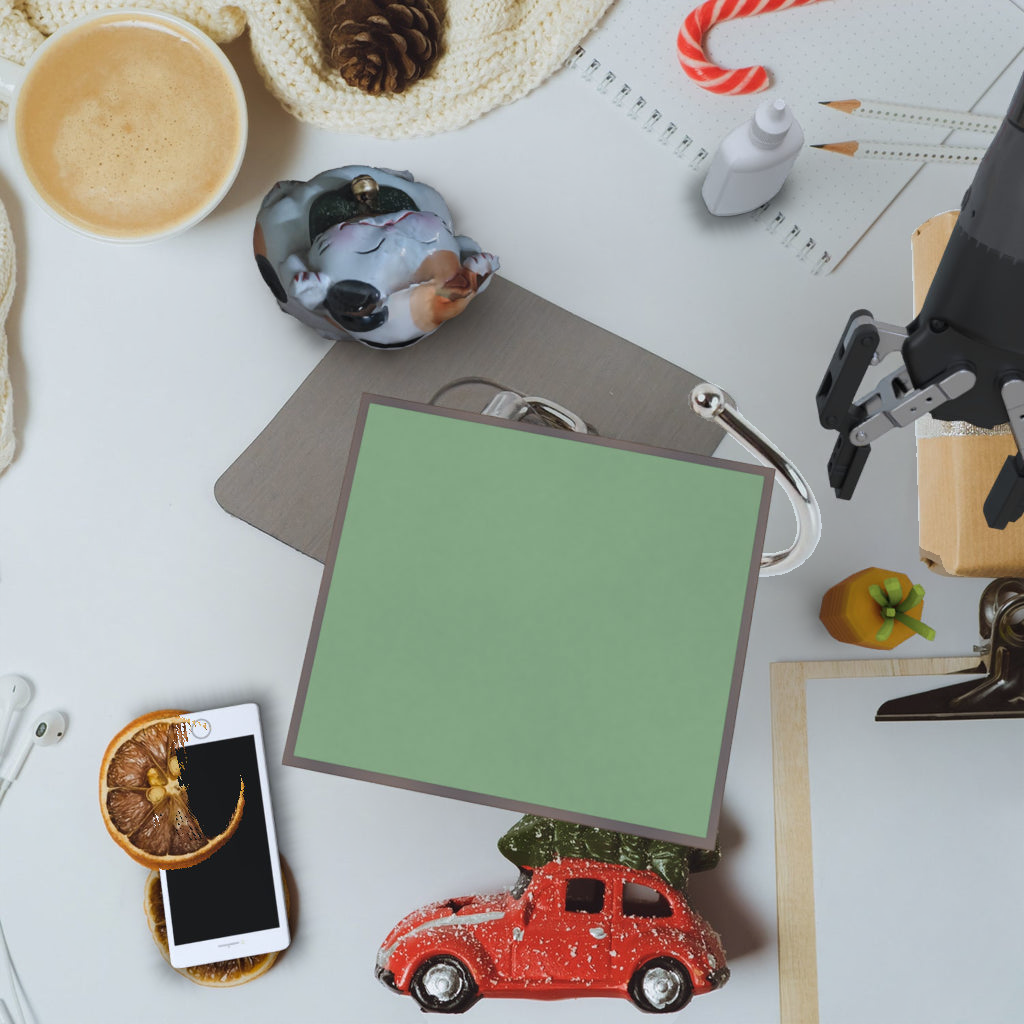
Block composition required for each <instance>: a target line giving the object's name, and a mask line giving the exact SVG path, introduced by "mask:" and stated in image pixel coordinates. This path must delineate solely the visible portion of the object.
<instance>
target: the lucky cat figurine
mask: <svg viewBox="0 0 1024 1024" xmlns="http://www.w3.org/2000/svg"><path fill="white" fill-rule="evenodd" d="M252 247H253V256H254V260H255V262H256V265H257V267H258V271H259V273H260V275H261V277H262V279H263V281H264V283H265V284H266V285H267V286H268V287H267V288H269V290H270V292H271V293H272V295H273V296H274V298H275V301H276V304H277V306H278V307H279V310H280V311H281V312H283V313H284V314H287V315H290V316H292V317H294V318H295V319H297V320H298V321H299V322H301V323H302V324H304V325H306V326H308V327H309V328H310V329H312V330H313V331H314V332H315V333H316V334H317V335H319V336H320V337H321V339H325V340H329V341H336V342H337V341H340V342H342V341H347V342H348V341H349V342H350V341H356V342H359V343H361V344H362V345H364V346H366V347H368V348H372V349H375V350H387V351H397V350H402V349H404V348H409V347H412V346H415V345H416V344H418V343H419V342H420V341H422V340H423V339H425V338H427V337H429V336H431V335H433V334H434V333H435V332H436V331H438V329H439V328H440V327H441V326H442V325H443V324H444V323H445V322H447V321H448V320H451V319H453V318H456V317H457V316H458V315H461V314H462V313H463V312H464V311H465V310H466V309H467V306H468V305H469V303H470V302H471V301H472V300H473V299H474V298H475V297H477V295H478V294H481V293H482V292H485V290H486V289H487V288H488V286H489V285H490V283H491V280H492V277H493V276H494V274H495V273H496V272H497V271H498V270H499V269H500V268H501V264H500V261H499V260H500V256H498V255H497V254H496V255H493V254H491V253H489V252H483V250H482V248H481V246H480V244H479V243H478V242H477V241H476V240H474V239H473V238H472V237H471V236H467V235H462V234H460V235H456V233H455V228H454V222H453V220H452V216H451V213H450V211H449V208H448V205H447V204H446V200H445V199H444V197H443V195H442V194H441V193H440V192H439V191H438V190H436V189H435V188H434V187H432V186H431V185H428V184H426V183H423V182H421V181H415V176H414V175H413V173H412V172H410V171H409V169H406V170H405V169H404V170H396V169H392V168H389V167H377V166H374V167H373V166H370V165H361V164H349V165H343V166H341V167H335V168H330V169H327V170H323V171H322V172H320V173H318V174H316V175H315V176H313V177H312V178H311V179H308V180H307V181H303V180H297V179H296V180H295V179H291V180H290V179H286V180H280V181H279V180H278V181H276V182H275V184H273V186H272V188H271V189H270V190H269V191H268V193H267V194H265V196H264V197H263V200H262V202H261V204H260V208H259V210H258V212H257V213H256V218H255V222H254V228H253V232H252Z"/></svg>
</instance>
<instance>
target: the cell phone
mask: <svg viewBox="0 0 1024 1024" xmlns="http://www.w3.org/2000/svg"><path fill="white" fill-rule="evenodd" d="M260 712H261V711H260V706H259V705H258V704H257V703H254V702H249V703H247V702H246V703H242V704H236V705H232V706H231V705H230V706H225V707H219V708H213V709H208V710H202V711H197V712H196V711H195V712H190V713H185V714H180V715H179V716H180V718H182V717H183V718H185V720H186V719H187V720H188V719H190V725H191V727H190V725H189V724H188V723H187V722H186V723H185V725H186V731H187V737H188V742H187V741H186V739H185V738H184V736H183V735H182V737H183V738H184V740H185V742H184V740H183V742H184V747H185V749H184V748H183V746H182V745H181V743H180V742H179V740H178V742H179V747H180V749H179V748H178V750H179V751H178V750H177V749H176V747H175V751H176V756H177V760H178V764H179V763H180V764H181V765H184V768H185V770H184V769H183V768H182V766H181V765H180V764H179V768H180V767H181V769H180V772H181V775H180V776H181V779H182V780H181V779H180V777H179V776H178V778H177V779H178V782H179V786H180V787H181V786H183V784H184V786H185V787H186V788H187V790H186V792H187V795H188V800H189V801H188V800H187V801H188V803H189V804H188V803H187V804H188V806H189V807H190V808H189V807H188V806H187V805H186V806H187V807H188V809H189V810H190V809H191V810H192V811H191V810H190V812H191V813H192V814H193V815H194V816H195V817H196V818H195V817H194V816H193V815H192V814H191V813H190V812H189V810H188V812H189V814H190V815H191V816H193V817H194V818H195V819H197V821H198V823H199V826H200V828H201V830H202V832H203V834H204V836H206V837H208V836H210V838H212V837H214V836H218V835H219V834H221V833H222V832H223V831H225V830H226V828H227V827H228V826H229V821H231V817H232V813H233V814H234V812H235V807H236V808H237V803H238V800H239V798H240V797H239V796H240V791H242V790H241V782H242V781H243V783H244V786H245V787H244V789H243V790H244V792H243V794H244V795H243V794H242V795H243V797H244V800H245V805H244V807H243V815H242V817H241V819H242V820H241V821H240V822H239V824H238V825H239V826H238V828H237V829H236V831H235V833H234V834H233V835H232V837H231V838H230V839H228V840H229V841H227V842H226V843H225V845H223V846H221V848H220V849H218V850H217V852H215V853H213V854H212V855H211V856H210V858H207V859H206V860H204V861H201V863H198V864H197V865H193V866H192V867H189V868H188V867H187V868H182V869H181V868H180V869H174V870H171V869H169V870H166V869H165V870H162V869H160V868H159V874H160V875H159V876H160V882H161V883H160V885H161V890H162V901H163V907H164V917H165V926H166V932H167V942H168V949H169V957H170V963H171V964H170V965H171V966H172V967H173V968H175V969H184V968H189V967H190V968H191V967H195V966H203V965H208V964H212V963H217V962H224V961H229V960H235V959H241V958H246V957H247V958H248V957H252V956H257V955H264V954H270V953H274V952H279V951H283V950H286V949H287V948H289V946H290V944H291V942H292V939H291V933H290V926H289V919H288V911H287V905H286V897H285V890H284V883H283V875H282V869H281V868H282V867H281V861H280V860H281V859H280V853H279V846H278V838H277V831H276V824H275V823H276V822H275V816H274V810H273V802H272V794H271V788H270V780H269V772H268V766H267V757H266V751H265V743H264V736H263V728H262V720H261V714H260ZM183 718H182V719H183ZM194 720H195V725H196V727H195V725H194V724H193V722H192V721H194ZM197 721H198V722H200V724H201V726H200V725H199V723H198V722H197ZM204 723H206V729H207V730H206V729H205V728H204V727H203V725H205V724H204ZM182 726H184V724H183V723H181V731H182V734H184V732H183V731H184V728H183V727H182ZM209 726H210V727H209ZM176 727H177V725H176ZM177 728H178V727H177ZM210 728H211V729H210ZM178 729H179V728H178ZM189 729H190V730H191V731H192V732H191V731H190V730H189ZM176 730H177V729H176ZM189 733H190V734H189ZM177 734H179V733H178V731H177ZM177 736H178V735H177ZM178 739H179V736H178ZM173 741H174V740H173ZM174 743H175V742H174ZM175 744H176V743H175ZM170 748H171V747H170ZM184 750H185V752H186V754H185V753H184ZM171 754H172V752H171ZM185 757H187V759H186V758H185ZM186 761H187V763H186ZM181 762H183V764H182V763H181ZM240 775H241V776H240ZM241 778H242V781H241ZM188 784H189V785H188ZM187 786H188V787H187ZM181 788H182V787H181ZM186 788H185V789H186ZM188 788H189V789H188ZM182 795H183V794H182ZM178 812H179V811H178ZM179 814H180V812H179ZM155 815H156V814H155ZM160 816H162V815H161V814H160ZM176 816H177V815H176ZM191 816H190V817H191ZM152 817H153V816H152ZM180 817H181V816H180ZM185 817H186V816H185ZM156 818H157V820H158V818H159V817H158V816H157V815H156ZM186 818H187V817H186ZM191 818H192V817H191ZM154 819H155V818H154V817H153V825H155V824H154V822H155V821H154ZM181 819H182V817H181ZM192 819H193V818H192ZM229 819H230V820H229ZM162 820H163V819H162ZM176 820H178V819H177V818H176ZM193 820H194V819H193ZM158 822H159V820H158ZM182 822H183V821H182ZM187 822H188V821H187ZM192 822H193V821H192ZM159 825H160V824H159ZM178 825H180V824H179V823H178ZM203 825H204V826H203ZM226 825H227V826H226ZM155 826H156V825H155ZM155 826H154V827H155ZM189 827H190V826H189ZM195 828H196V827H195ZM175 829H176V828H175ZM180 829H181V828H180ZM190 829H191V830H193V829H192V828H191V827H190ZM196 830H198V829H197V828H196ZM176 831H178V830H177V829H176ZM198 831H199V830H198ZM192 833H193V832H192ZM197 833H198V832H197ZM200 833H201V832H200ZM177 834H178V833H177ZM182 834H183V833H182ZM187 834H188V833H187ZM178 835H179V834H178ZM188 835H189V834H188ZM193 835H194V836H196V835H195V834H194V833H193ZM198 835H199V837H200V839H202V838H201V835H200V834H199V833H198ZM207 835H208V836H207ZM206 837H205V838H206ZM189 838H190V837H189ZM194 838H195V837H194ZM179 839H180V838H179ZM190 840H192V839H191V838H190ZM195 840H197V839H196V838H195Z"/></svg>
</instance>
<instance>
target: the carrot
mask: <svg viewBox="0 0 1024 1024" xmlns="http://www.w3.org/2000/svg"><path fill="white" fill-rule="evenodd" d="M925 595H926V590H925V589H924V587H923V585H921V584H920V583H915V584H913V582H912V581H911V580H910V578H909V576H908V575H907V574H906V573H902V572H898V571H894V570H890V569H885V568H881V567H876V566H869V567H867V568H864V569H860V570H859V571H856V572H855V573H852V574H851V575H849V576H847V577H846V578H844V579H843V580H841V581H840V582H838V583H836V584H835V585H834V586H832V587H830V588H829V589H828V590H827V591H825V593H824V594H823V596H822V599H821V603H820V604H821V605H820V610H819V616H818V619H819V621H820V623H822V625H823V626H824V628H825V629H826V631H827V632H828V634H829V635H830V636H831V638H833V639H834V640H835V641H837V642H840V643H843V644H848V645H852V646H856V647H861V648H865V649H870V650H876V651H877V650H878V651H892V650H894V649H895V648H897V647H898V646H900V645H901V644H903V643H904V642H906V641H907V640H909V639H910V638H912V637H914V636H915V635H916V634H917V635H919V636H921V637H922V638H924V639H925V640H927V641H929V642H933V641H934V639H935V638H936V633H937V631H936V630H935V629H934V628H932V627H931V626H930V625H928V624H926V623H924V622H923V621H922V616H923V610H924V605H925V604H924V603H925V600H924V597H925Z"/></svg>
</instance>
